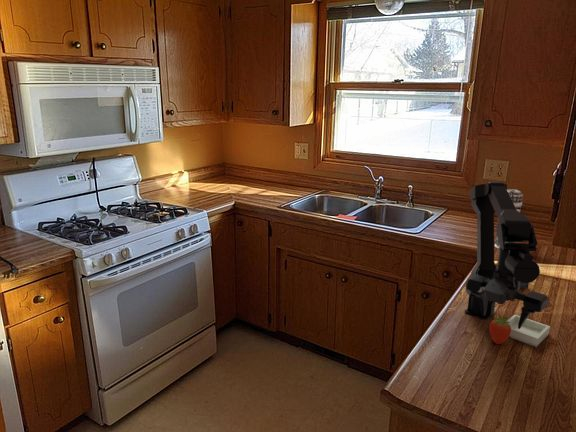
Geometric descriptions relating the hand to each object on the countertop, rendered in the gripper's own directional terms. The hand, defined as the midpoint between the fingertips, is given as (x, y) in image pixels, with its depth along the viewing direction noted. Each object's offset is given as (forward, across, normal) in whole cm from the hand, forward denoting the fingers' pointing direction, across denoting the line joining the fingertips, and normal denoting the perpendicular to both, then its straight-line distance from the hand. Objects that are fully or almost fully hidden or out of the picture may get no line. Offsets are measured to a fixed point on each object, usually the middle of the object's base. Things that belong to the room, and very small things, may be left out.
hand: (501, 321), depth 119 cm
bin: (+6, +3, +10) cm, 12 cm away
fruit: (+6, 0, 0) cm, 6 cm away
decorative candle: (+7, -30, +80) cm, 86 cm away
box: (+7, -12, +41) cm, 43 cm away
